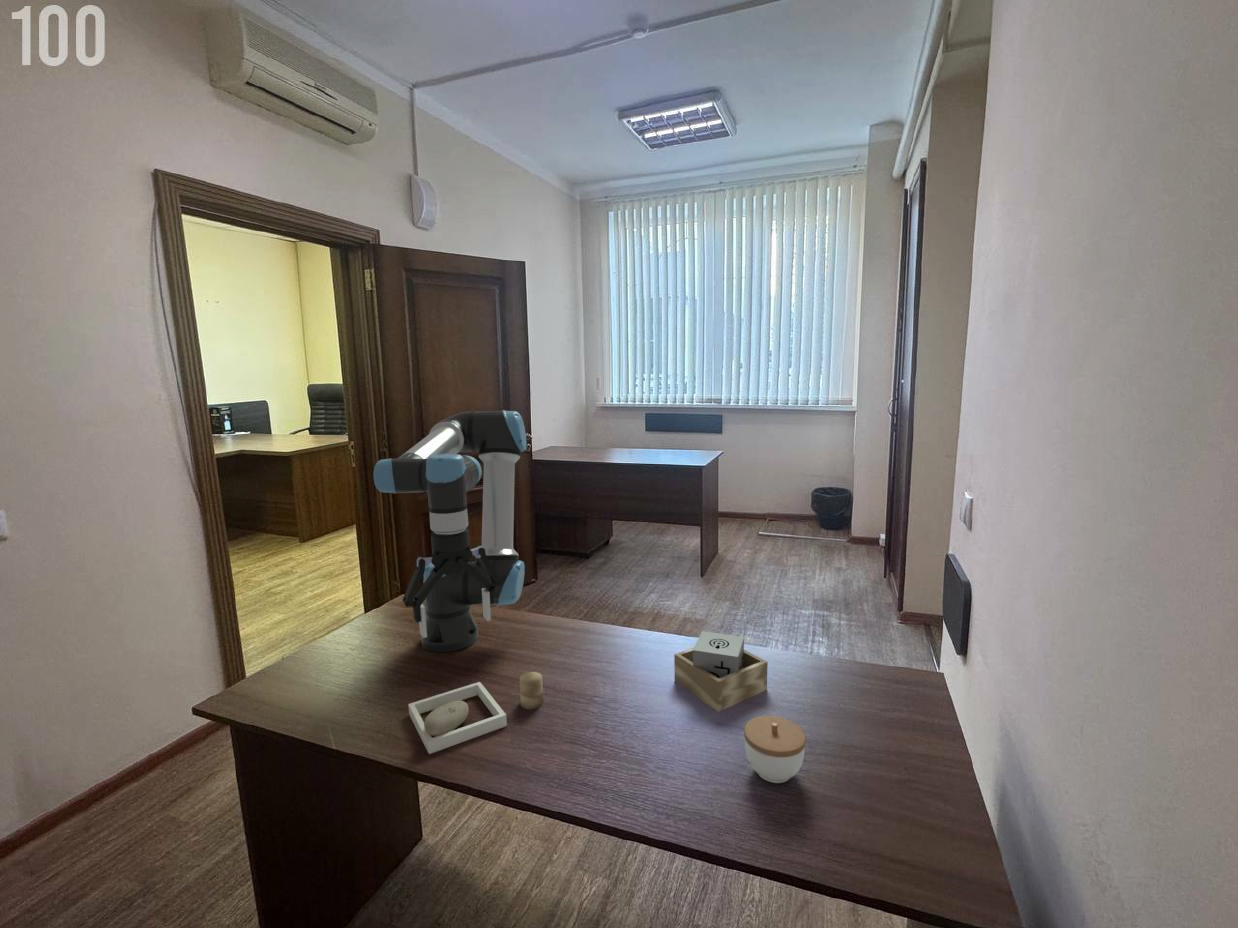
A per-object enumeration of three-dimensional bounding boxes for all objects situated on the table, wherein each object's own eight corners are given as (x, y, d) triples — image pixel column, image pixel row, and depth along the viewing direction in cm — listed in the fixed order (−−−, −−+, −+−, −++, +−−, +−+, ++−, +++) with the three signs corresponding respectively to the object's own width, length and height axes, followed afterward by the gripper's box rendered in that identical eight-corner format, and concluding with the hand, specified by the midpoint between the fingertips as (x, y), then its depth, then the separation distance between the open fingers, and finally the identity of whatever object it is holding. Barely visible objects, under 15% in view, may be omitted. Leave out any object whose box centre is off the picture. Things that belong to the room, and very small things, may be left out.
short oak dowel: (537, 694, 131) (536, 669, 130) (547, 704, 127) (545, 679, 126) (517, 701, 128) (515, 676, 127) (526, 711, 124) (525, 686, 123)
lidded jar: (771, 745, 111) (772, 700, 110) (817, 776, 102) (819, 728, 101) (731, 766, 106) (731, 719, 104) (775, 801, 97) (776, 750, 95)
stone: (477, 706, 123) (455, 713, 112) (462, 734, 122) (437, 744, 110) (456, 692, 124) (431, 698, 113) (441, 720, 123) (414, 728, 112)
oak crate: (721, 663, 143) (721, 637, 142) (766, 690, 131) (767, 661, 130) (674, 681, 135) (674, 654, 134) (718, 712, 123) (718, 681, 122)
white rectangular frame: (480, 691, 132) (479, 681, 132) (506, 725, 119) (506, 714, 119) (409, 714, 124) (408, 703, 124) (429, 754, 111) (428, 742, 110)
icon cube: (737, 698, 126) (737, 656, 125) (692, 691, 130) (692, 650, 128) (743, 676, 135) (744, 636, 134) (701, 669, 139) (702, 631, 137)
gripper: (500, 516, 127) (505, 606, 131) (381, 535, 114) (390, 635, 117) (513, 523, 121) (518, 618, 124) (389, 544, 108) (398, 649, 111)
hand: (456, 626), depth 121 cm, fingers open, 13 cm apart
